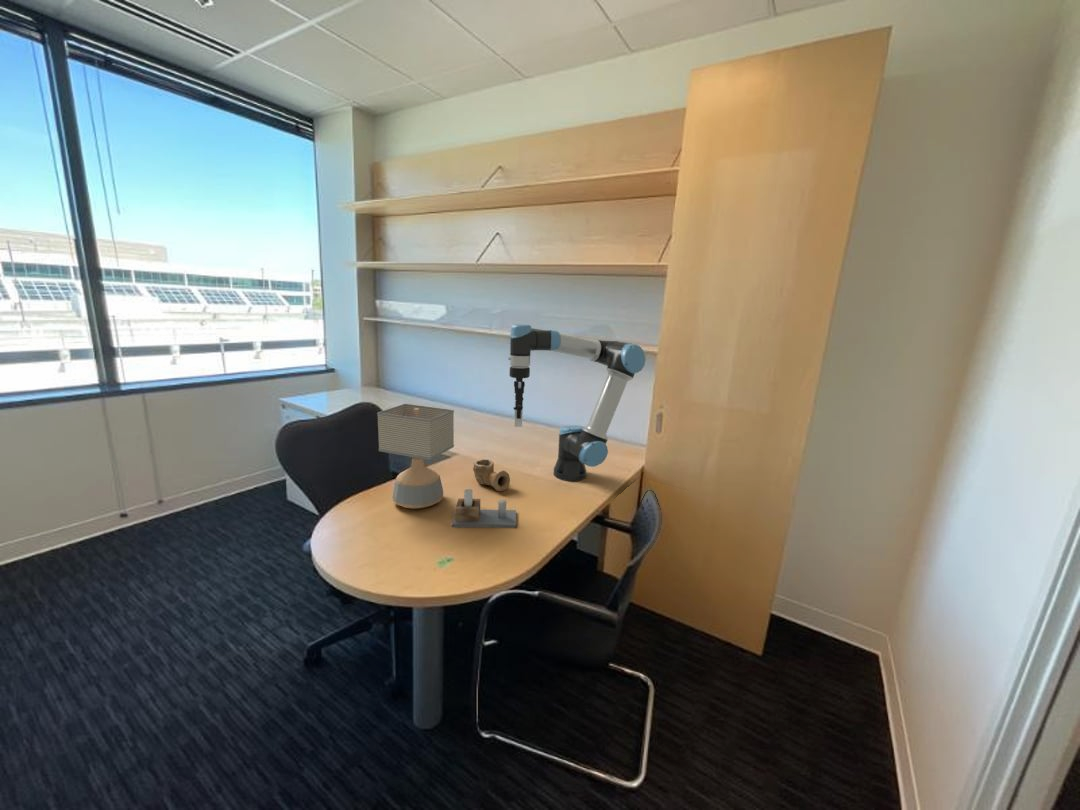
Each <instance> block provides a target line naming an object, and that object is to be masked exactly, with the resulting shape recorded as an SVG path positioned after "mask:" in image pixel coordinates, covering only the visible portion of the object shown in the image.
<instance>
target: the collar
mask: <svg viewBox="0 0 1080 810" xmlns="http://www.w3.org/2000/svg"><path fill="white" fill-rule="evenodd" d="M480 510H481V498H472V507H464V498H457V502H456V505H455V510H454V511H455V512H454V515H455V522H479V517H480Z"/></svg>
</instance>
